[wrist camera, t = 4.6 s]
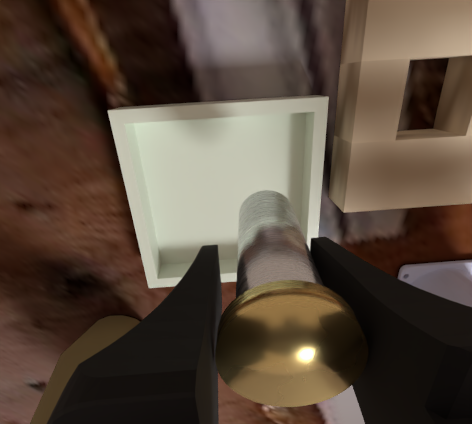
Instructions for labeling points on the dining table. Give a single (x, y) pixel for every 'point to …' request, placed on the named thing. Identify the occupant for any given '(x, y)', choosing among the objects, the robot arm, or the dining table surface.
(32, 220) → the dining table surface
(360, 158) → the hitch block
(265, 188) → the tray
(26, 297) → the dining table surface
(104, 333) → the squeeze bottle
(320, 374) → the pin
